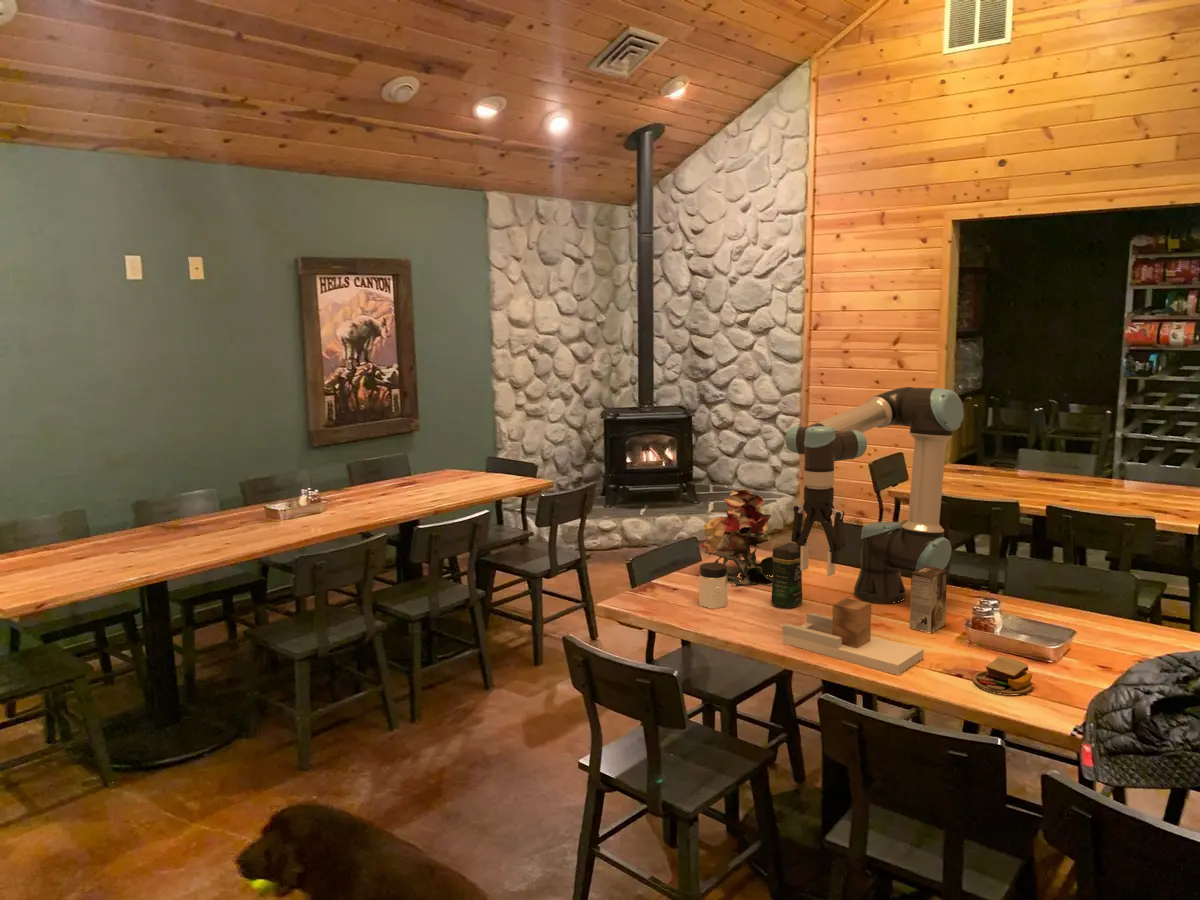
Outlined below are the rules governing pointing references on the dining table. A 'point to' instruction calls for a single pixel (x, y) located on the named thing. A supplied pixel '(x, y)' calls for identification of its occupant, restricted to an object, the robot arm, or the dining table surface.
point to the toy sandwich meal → (1004, 676)
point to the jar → (713, 585)
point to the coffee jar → (786, 576)
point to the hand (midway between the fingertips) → (817, 571)
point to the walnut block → (852, 622)
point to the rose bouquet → (740, 537)
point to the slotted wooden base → (870, 654)
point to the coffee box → (928, 598)
